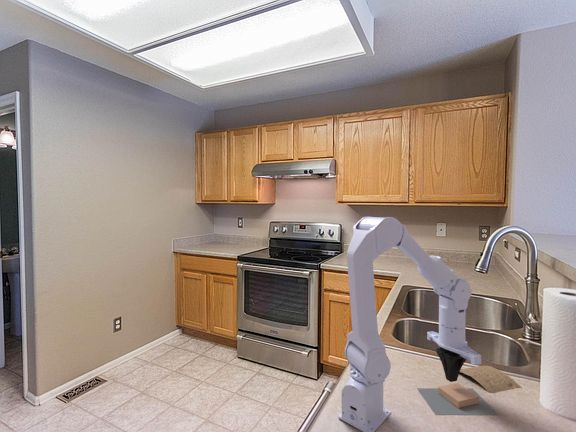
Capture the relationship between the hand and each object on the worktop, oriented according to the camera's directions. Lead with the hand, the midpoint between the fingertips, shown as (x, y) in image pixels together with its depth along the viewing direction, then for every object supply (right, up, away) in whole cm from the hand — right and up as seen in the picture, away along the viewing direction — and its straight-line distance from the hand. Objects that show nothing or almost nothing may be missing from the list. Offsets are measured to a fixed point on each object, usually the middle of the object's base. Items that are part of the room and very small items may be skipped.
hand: (451, 380), depth 75 cm
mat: (-1, -4, -3) cm, 5 cm away
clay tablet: (+12, -5, +7) cm, 15 cm away
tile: (0, -3, +1) cm, 3 cm away
